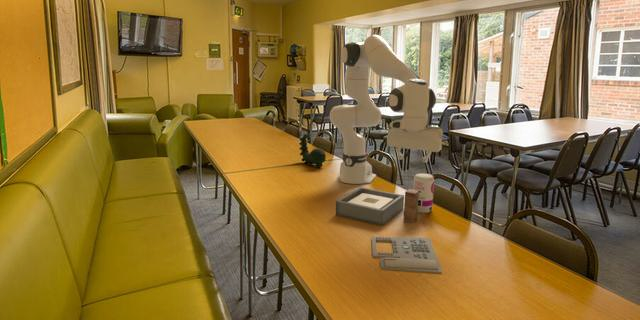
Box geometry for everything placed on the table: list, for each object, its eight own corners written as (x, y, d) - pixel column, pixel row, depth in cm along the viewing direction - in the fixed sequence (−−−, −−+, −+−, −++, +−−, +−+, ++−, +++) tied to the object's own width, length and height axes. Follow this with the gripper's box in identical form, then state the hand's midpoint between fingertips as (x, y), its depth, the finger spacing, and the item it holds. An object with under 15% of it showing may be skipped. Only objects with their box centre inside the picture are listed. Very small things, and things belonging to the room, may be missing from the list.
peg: (407, 218, 160) (408, 189, 157) (416, 220, 158) (418, 190, 155) (403, 221, 157) (405, 191, 154) (413, 223, 155) (415, 193, 152)
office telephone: (443, 267, 118) (373, 263, 119) (442, 275, 118) (373, 271, 120) (429, 234, 140) (371, 231, 142) (429, 241, 141) (371, 238, 143)
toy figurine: (296, 164, 248) (318, 170, 227) (294, 134, 245) (317, 136, 224) (309, 163, 253) (332, 168, 233) (308, 132, 250) (331, 135, 230)
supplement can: (432, 208, 172) (435, 173, 168) (431, 214, 164) (433, 179, 160) (413, 205, 174) (415, 172, 171) (410, 212, 167) (413, 177, 163)
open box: (360, 200, 181) (360, 187, 179) (403, 208, 170) (404, 195, 169) (335, 215, 162) (336, 201, 161) (381, 226, 152) (382, 210, 151)
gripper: (445, 125, 146) (442, 162, 149) (392, 121, 157) (390, 156, 160) (440, 127, 141) (437, 166, 144) (385, 122, 151) (384, 158, 154)
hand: (412, 160), depth 152 cm, fingers open, 8 cm apart
